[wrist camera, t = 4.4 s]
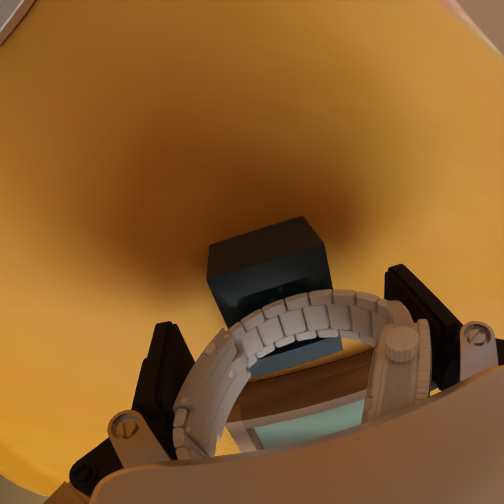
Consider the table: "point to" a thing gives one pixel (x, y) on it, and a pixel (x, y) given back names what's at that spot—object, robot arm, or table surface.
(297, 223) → the watch
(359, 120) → the table surface
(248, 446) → the watch tray
